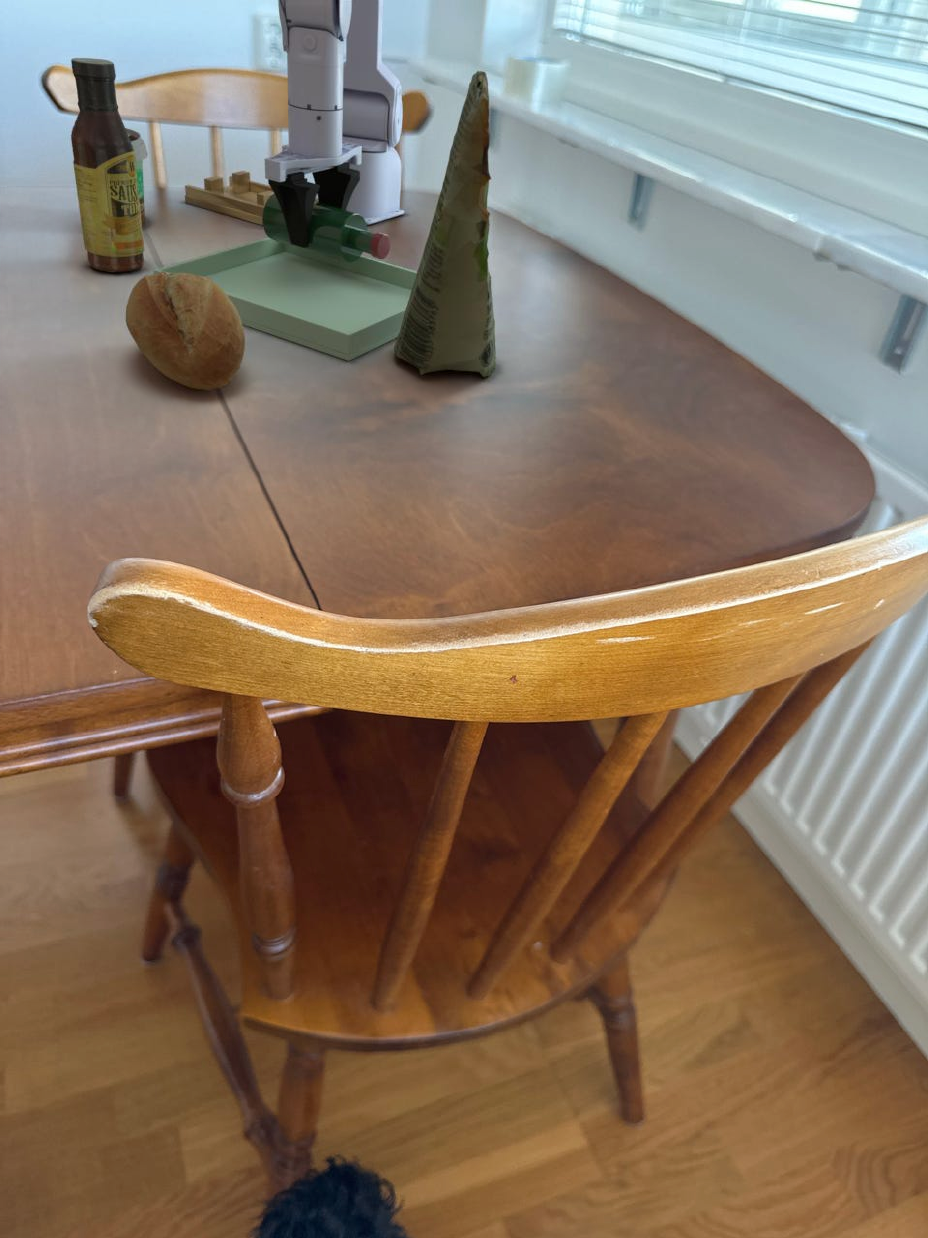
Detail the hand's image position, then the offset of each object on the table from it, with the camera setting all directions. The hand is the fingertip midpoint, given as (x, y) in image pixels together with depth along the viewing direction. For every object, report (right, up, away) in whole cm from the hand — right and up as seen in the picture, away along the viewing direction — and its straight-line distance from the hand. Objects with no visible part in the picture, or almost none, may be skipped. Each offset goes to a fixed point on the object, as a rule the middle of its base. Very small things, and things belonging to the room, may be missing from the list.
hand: (315, 240), depth 102 cm
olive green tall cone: (+16, -18, -14) cm, 28 cm away
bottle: (+2, -2, 0) cm, 2 cm away
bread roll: (-8, -21, -21) cm, 30 cm away
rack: (-12, +13, +22) cm, 28 cm away
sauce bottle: (-22, -4, -2) cm, 22 cm away
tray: (0, -8, -4) cm, 9 cm away
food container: (-25, +6, +11) cm, 28 cm away
